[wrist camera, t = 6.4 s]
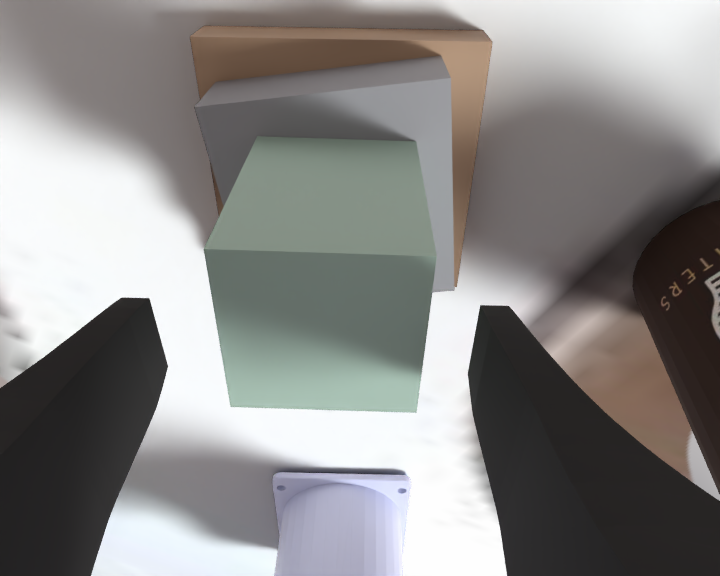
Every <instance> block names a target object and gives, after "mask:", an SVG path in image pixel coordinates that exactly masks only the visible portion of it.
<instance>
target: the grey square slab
mask: <svg viewBox="0 0 720 576" xmlns="http://www.w3.org/2000/svg"><path fill="white" fill-rule="evenodd" d="M194 108H195V111H196V115H197V118H198V121H199V125H200V128H201V132H202V135H203V138H204V142H205V145H206V149H207V152H208V155H209V159H210V162H211V166H212V169H213V172H214V176H215V179H216V183H217V186H218V189H219V193H220V196H221V200H222V203H223V206H224V205H225V203H226V201H227V199H228V197H229V195H230V193H231V190H232V188H233V186H234V184H235V182H236V180H237V178H238V176H239V174H240V171H241V169H242V167H243V165H244V163H245V161H246V159H247V157H248V155H249V152H250V150H251V148H252V146H253V144H254V142H255V140H256V138H257V136H266V137H297V138H328V139H359V140H390V141H416V143H417V148H418V154H419V160H420V165H421V171H422V176H423V182H424V187H425V193H426V199H427V204H428V210H429V215H430V221H431V226H432V232H433V238H434V243H435V249H436V254H437V259H436V267H435V275H434V282H433V290H432V292H441V291H454V235H453V173H452V111H451V77H450V75H449V72H448V70H447V68H446V65H445V63H444V61H443V58H442V56H441V55H440V56H432V57H423V58H415V59H406V60H398V61H389V62H380V63H372V64H363V65H355V66H346V67H338V68H329V69H321V70H312V71H303V72H295V73H286V74H278V75H269V76H261V77H252V78H244V79H235V80H226V81H218V82H215V83H214V84H213V85H212V87H211V88H210V89H209V90H208V91H207V93H206V94H205V95H204V96H203V97H202V99H201V100H200V101H199V102H198V103H197V105H196V106H195V107H194Z"/></svg>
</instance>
